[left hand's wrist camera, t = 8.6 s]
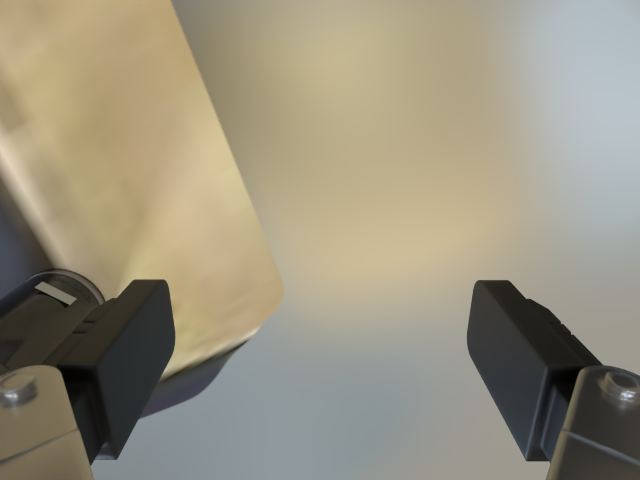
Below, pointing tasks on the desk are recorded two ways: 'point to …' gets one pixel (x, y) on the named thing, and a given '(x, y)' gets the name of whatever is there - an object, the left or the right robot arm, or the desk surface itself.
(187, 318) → the desk surface
